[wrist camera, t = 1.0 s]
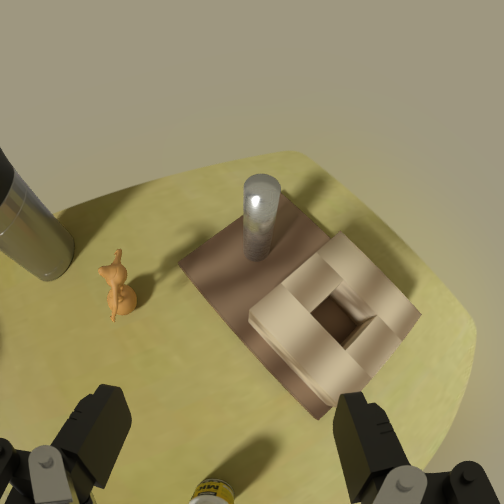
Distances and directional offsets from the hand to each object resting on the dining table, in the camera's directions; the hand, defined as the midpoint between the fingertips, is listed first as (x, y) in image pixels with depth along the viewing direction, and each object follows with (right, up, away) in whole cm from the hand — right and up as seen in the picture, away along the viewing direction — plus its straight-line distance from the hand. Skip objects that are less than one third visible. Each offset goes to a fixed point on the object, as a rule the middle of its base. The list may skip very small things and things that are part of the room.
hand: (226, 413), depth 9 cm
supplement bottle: (-4, -24, +16) cm, 29 cm away
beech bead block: (+10, -3, +24) cm, 27 cm away
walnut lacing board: (+7, 0, +28) cm, 28 cm away
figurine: (-15, -1, +27) cm, 30 cm away
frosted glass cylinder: (+1, +6, +29) cm, 29 cm away
